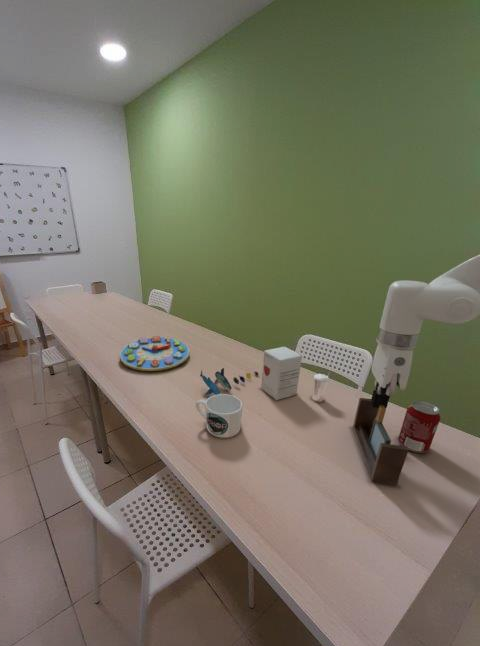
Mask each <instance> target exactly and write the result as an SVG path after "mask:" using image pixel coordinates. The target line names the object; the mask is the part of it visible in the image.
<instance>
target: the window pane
mask: <svg viewBox="0 0 480 646" xmlns="http://www.w3.org/2000/svg"><path fill="white" fill-rule="evenodd" d="M386 411H387V408H385V407H384V406H383V405H379V409H378V413H377V416H376V417H375V419H374V423H373V426H372V430H371V434H370V438H369V441H368V442H369V445H370V447H371V450H372V452H373V455H374V457H375V460H376V457H377V453H378V450H379V446H380V443H384V444H391V443H392V440H391V437H390V436H389V434H388V432H387V430H386V428H385V426H384V424H383V422H384V418H385V414H386Z"/></svg>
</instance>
